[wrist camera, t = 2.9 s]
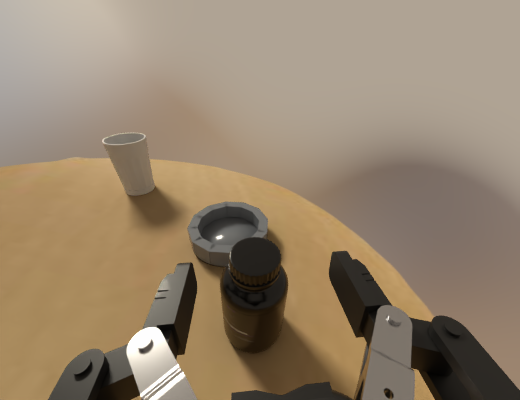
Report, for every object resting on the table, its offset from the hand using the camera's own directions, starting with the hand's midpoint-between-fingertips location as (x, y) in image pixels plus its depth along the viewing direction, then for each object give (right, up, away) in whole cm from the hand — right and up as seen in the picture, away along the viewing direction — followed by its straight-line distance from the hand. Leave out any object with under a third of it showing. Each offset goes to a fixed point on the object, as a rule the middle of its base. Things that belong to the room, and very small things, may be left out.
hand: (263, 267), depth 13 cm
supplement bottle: (-1, -11, +14) cm, 18 cm away
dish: (-5, -3, +26) cm, 27 cm away
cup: (-28, +6, +40) cm, 49 cm away
